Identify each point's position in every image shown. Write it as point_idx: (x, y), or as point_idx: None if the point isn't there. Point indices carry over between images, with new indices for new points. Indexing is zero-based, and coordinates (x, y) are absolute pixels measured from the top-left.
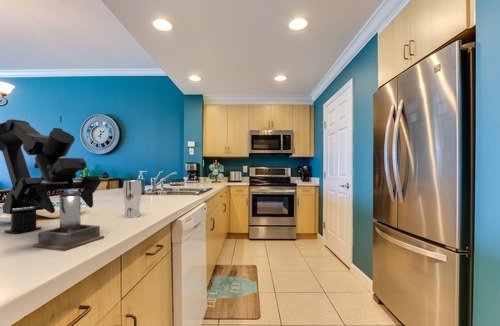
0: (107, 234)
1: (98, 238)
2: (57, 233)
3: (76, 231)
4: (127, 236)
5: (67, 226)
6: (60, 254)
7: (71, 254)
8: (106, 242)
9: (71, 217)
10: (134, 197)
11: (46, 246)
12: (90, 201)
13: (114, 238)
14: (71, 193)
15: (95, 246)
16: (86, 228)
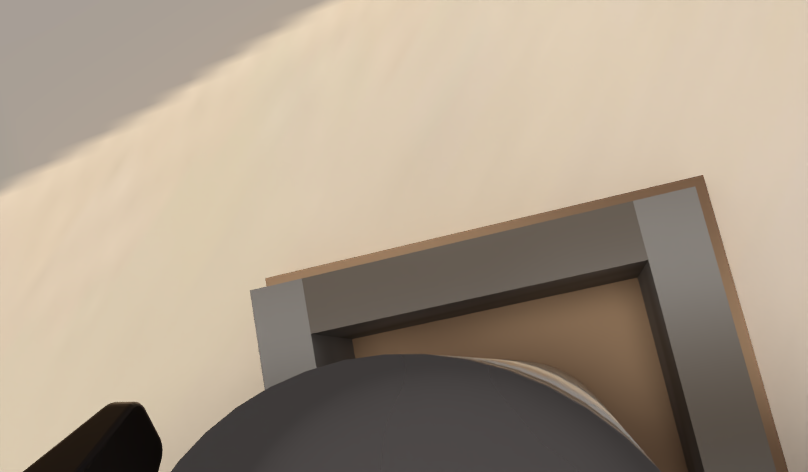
0: (175, 392)
1: (333, 265)
2: (721, 363)
3: (541, 253)
4: (146, 128)
5: (589, 391)
6: (763, 110)
7: (705, 24)
8: (353, 110)
9: (542, 367)
10: None
11: (777, 442)
12: (79, 468)
13: (239, 174)
14: (510, 369)
15: (472, 75)
16: (399, 301)
